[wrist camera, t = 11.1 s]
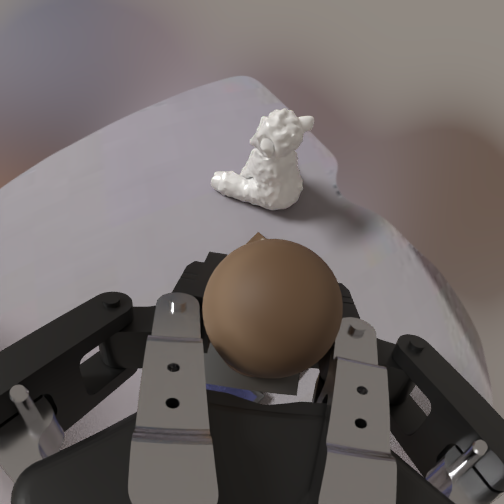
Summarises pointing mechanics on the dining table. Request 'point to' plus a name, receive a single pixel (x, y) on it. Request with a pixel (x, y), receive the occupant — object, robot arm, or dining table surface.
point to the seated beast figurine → (269, 164)
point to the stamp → (269, 316)
